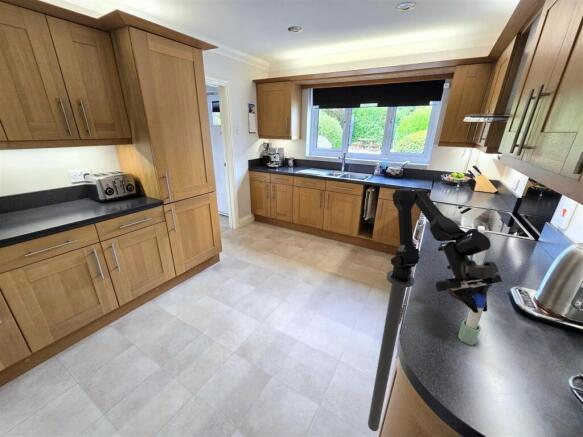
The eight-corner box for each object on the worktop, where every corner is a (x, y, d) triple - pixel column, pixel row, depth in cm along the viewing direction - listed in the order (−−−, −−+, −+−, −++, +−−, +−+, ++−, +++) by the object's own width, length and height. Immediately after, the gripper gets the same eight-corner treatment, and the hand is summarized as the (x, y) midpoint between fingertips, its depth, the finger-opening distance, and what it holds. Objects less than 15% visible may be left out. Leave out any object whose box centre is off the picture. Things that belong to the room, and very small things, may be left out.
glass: (456, 337, 76) (460, 323, 74) (461, 330, 79) (465, 317, 77) (473, 347, 73) (478, 333, 71) (477, 339, 75) (482, 325, 73)
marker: (463, 327, 74) (473, 296, 70) (466, 322, 76) (476, 292, 72) (474, 333, 72) (485, 301, 68) (477, 328, 74) (488, 297, 70)
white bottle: (455, 286, 101) (471, 231, 93) (459, 274, 110) (473, 223, 102) (475, 293, 97) (493, 236, 89) (477, 279, 106) (493, 227, 98)
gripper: (452, 255, 68) (477, 314, 61) (505, 249, 72) (535, 305, 65) (426, 265, 78) (445, 317, 71) (475, 260, 81) (497, 309, 75)
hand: (481, 312), depth 70 cm, fingers closed on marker, 3 cm apart
